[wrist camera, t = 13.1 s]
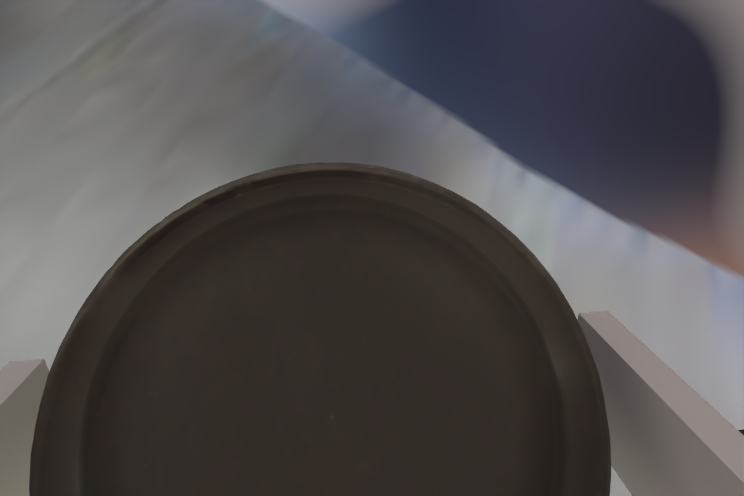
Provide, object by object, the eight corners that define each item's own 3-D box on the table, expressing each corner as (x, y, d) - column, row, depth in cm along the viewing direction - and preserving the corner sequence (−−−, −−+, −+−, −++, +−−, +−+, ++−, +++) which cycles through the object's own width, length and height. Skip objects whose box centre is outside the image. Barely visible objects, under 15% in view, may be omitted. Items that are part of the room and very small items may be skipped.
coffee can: (493, 396, 22) (707, 356, 9) (361, 601, 18) (378, 1039, 5) (331, 270, 24) (303, 81, 11) (186, 435, 21) (-110, 458, 7)
